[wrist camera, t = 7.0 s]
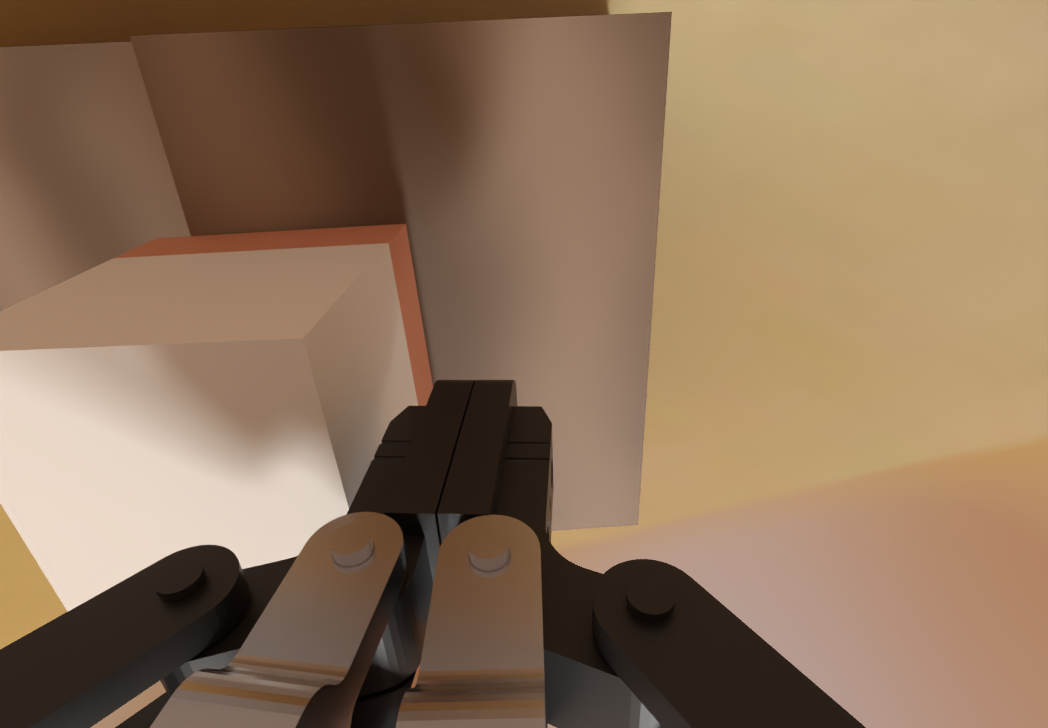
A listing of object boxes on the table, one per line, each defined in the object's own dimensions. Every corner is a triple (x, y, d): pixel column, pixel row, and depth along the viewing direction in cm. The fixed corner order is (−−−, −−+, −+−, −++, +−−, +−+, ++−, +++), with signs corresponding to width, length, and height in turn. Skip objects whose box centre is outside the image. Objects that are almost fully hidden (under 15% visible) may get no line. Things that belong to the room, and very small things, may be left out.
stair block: (610, 24, 18) (671, 12, 12) (600, 407, 25) (637, 524, 19) (-330, 65, 18) (-769, 74, 12) (-85, 450, 24) (-281, 588, 18)
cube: (405, 223, 13) (302, 338, 8) (442, 442, 16) (382, 632, 11) (156, 238, 14) (-93, 355, 9) (232, 447, 17) (79, 631, 12)
